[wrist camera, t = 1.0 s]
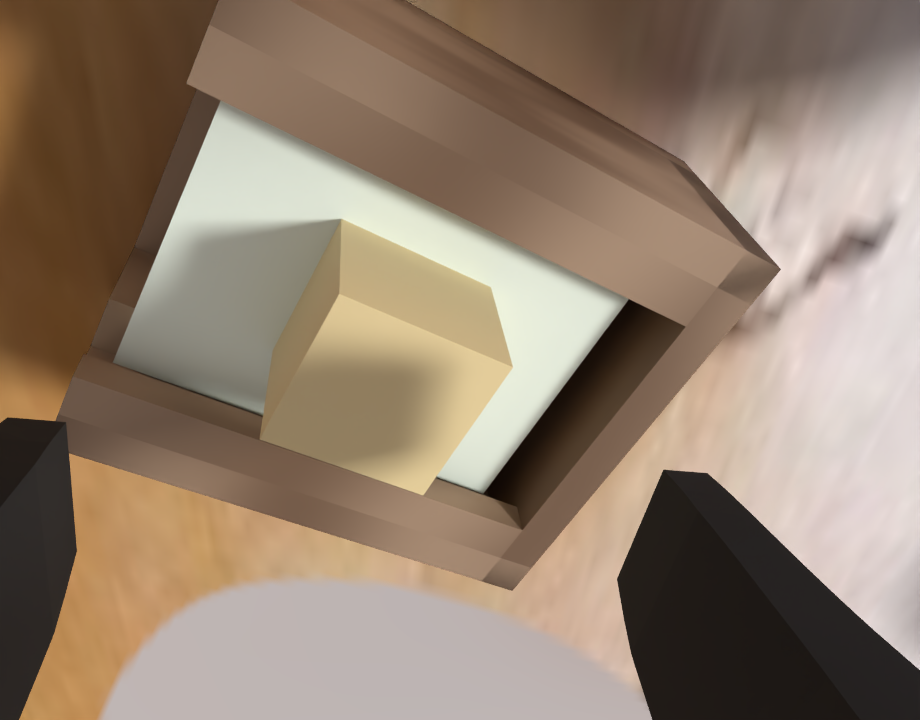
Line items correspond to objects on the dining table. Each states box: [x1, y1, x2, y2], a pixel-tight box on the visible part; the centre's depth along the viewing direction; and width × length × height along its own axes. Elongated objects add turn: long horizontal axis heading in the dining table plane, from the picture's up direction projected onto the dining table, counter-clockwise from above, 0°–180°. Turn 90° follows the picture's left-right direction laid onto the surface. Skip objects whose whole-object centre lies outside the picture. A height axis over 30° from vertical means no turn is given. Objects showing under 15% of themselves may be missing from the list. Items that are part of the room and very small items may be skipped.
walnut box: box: [56, 0, 781, 591], centre depth 17 cm, size 10×9×5 cm
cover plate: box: [113, 101, 629, 495], centre depth 15 cm, size 8×6×4 cm
